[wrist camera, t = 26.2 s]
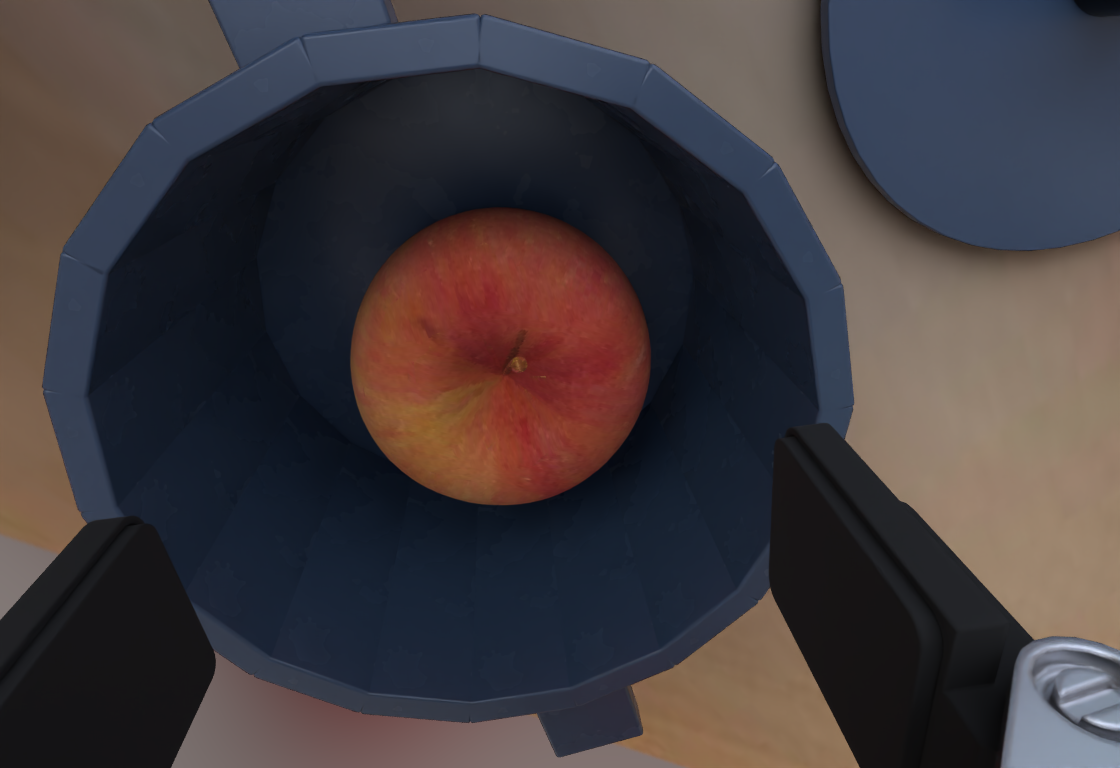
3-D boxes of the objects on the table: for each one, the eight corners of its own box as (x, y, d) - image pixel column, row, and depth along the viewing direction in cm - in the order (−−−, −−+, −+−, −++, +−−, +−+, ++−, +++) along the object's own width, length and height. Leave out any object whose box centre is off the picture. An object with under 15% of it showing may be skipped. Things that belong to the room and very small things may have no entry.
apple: (382, 402, 22) (325, 571, 14) (378, 169, 19) (304, 237, 11) (603, 413, 23) (653, 577, 15) (636, 193, 19) (717, 270, 12)
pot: (630, -159, 16) (780, -402, 8) (750, 481, 25) (883, 697, 16) (84, 24, 17) (-334, -14, 8) (388, 585, 26) (336, 846, 17)
